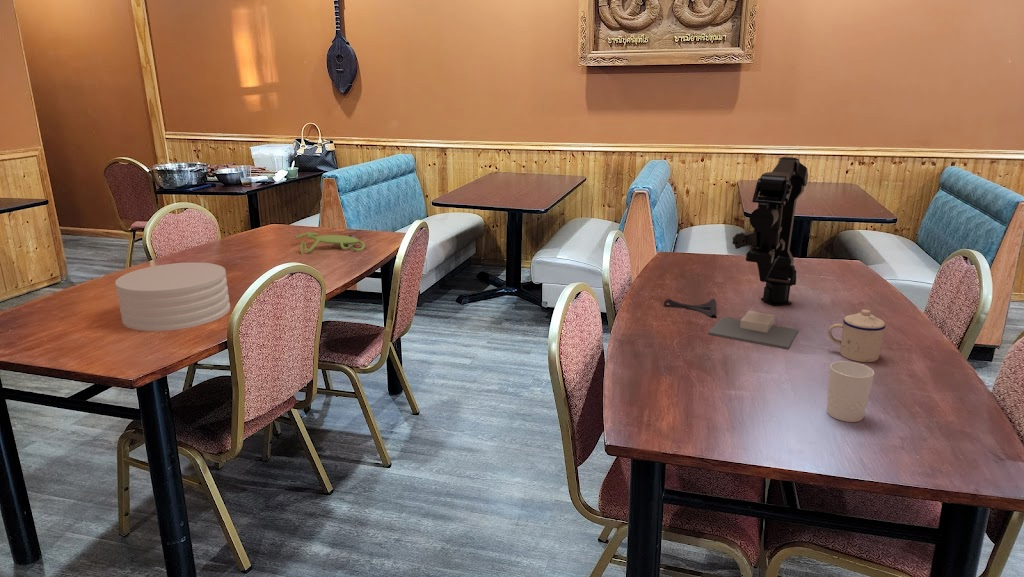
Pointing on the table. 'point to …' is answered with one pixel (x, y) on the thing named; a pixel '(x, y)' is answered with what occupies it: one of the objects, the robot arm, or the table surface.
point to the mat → (754, 333)
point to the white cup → (848, 390)
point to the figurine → (331, 241)
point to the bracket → (695, 307)
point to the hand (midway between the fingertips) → (762, 281)
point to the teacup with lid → (860, 336)
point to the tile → (757, 321)
